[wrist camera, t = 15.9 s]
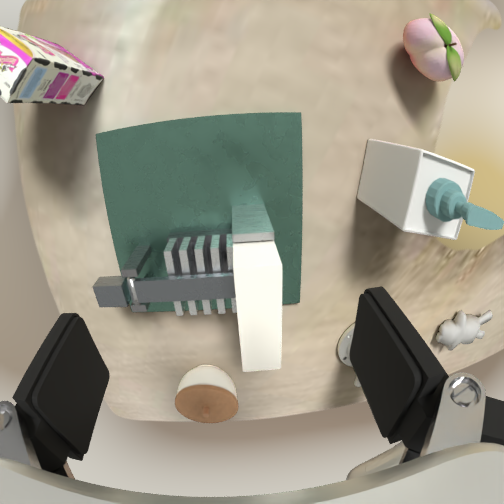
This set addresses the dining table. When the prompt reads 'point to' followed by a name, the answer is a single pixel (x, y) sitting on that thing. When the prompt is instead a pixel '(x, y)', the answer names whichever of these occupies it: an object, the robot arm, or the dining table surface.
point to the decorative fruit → (433, 48)
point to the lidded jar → (207, 395)
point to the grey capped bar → (163, 289)
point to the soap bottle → (420, 191)
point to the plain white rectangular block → (258, 303)
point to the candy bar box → (42, 71)
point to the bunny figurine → (462, 329)
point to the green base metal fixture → (203, 198)
